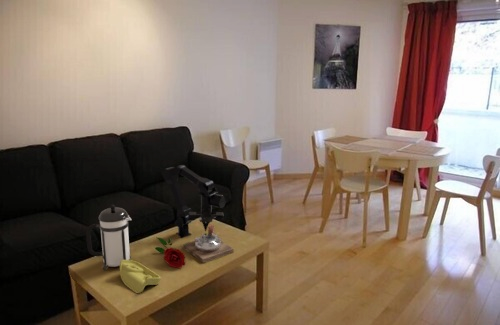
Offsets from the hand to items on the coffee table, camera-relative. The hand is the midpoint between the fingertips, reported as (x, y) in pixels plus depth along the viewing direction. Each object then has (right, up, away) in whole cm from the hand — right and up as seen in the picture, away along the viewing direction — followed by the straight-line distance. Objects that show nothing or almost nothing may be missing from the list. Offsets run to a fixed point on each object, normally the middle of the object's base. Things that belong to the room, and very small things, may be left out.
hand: (205, 231), depth 202 cm
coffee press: (-41, -12, -24) cm, 49 cm away
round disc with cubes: (+2, -6, -6) cm, 9 cm away
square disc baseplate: (+2, -8, -8) cm, 12 cm away
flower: (-17, -10, -16) cm, 25 cm away
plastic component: (-25, -16, -36) cm, 47 cm away
